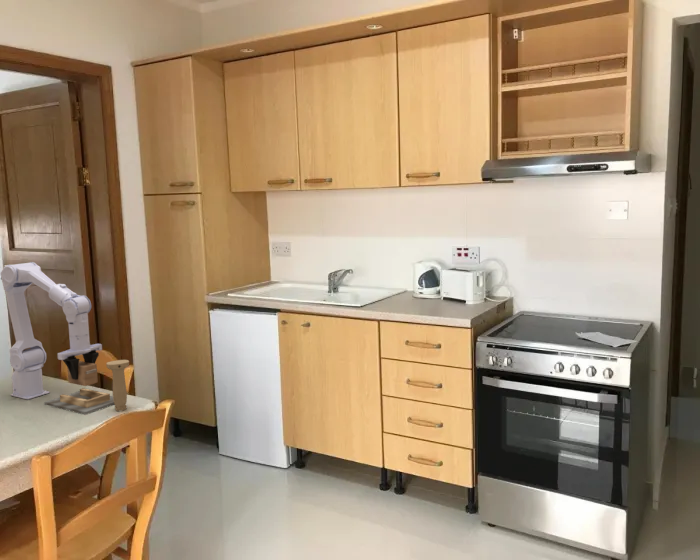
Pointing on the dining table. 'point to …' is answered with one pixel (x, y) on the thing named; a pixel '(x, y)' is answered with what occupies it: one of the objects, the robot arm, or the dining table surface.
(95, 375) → the cabinet block
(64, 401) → the cradle
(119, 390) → the handle
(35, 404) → the dining table surface
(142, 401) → the dining table surface
